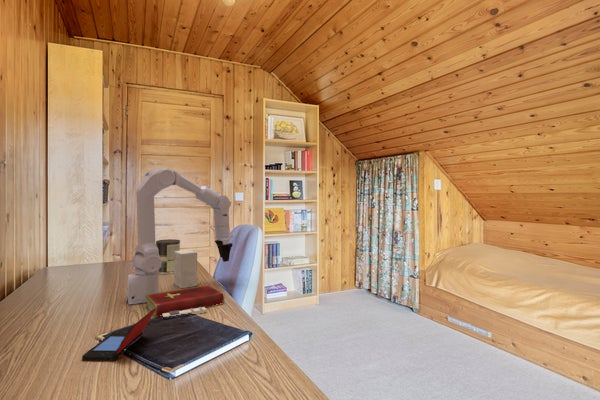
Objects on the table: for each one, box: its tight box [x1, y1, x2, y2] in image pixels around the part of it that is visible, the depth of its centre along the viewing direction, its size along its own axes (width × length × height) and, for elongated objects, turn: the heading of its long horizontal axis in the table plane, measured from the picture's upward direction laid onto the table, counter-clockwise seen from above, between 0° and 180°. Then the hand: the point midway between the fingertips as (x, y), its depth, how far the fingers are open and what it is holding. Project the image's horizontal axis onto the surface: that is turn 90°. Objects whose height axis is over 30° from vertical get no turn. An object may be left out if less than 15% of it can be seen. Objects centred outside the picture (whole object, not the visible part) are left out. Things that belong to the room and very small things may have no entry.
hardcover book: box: [145, 284, 225, 318], centre depth 104 cm, size 12×21×4 cm, turn 127°
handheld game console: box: [81, 309, 155, 362], centre depth 74 cm, size 12×11×7 cm
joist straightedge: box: [161, 307, 208, 317], centre depth 95 cm, size 12×2×1 cm, turn 121°
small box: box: [173, 249, 198, 289], centre depth 127 cm, size 8×6×13 cm
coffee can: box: [155, 238, 181, 275], centre depth 149 cm, size 10×10×14 cm
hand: (224, 259), depth 131 cm, fingers open, 7 cm apart
